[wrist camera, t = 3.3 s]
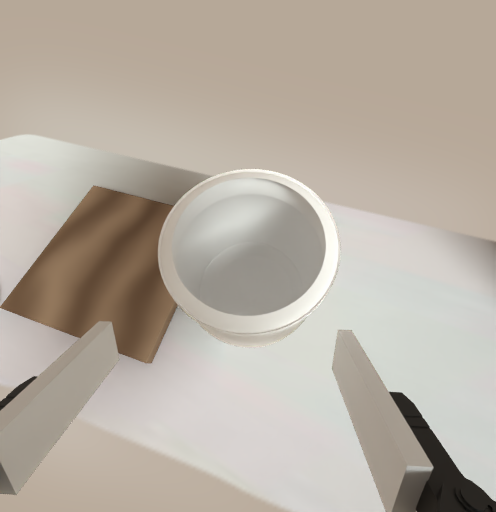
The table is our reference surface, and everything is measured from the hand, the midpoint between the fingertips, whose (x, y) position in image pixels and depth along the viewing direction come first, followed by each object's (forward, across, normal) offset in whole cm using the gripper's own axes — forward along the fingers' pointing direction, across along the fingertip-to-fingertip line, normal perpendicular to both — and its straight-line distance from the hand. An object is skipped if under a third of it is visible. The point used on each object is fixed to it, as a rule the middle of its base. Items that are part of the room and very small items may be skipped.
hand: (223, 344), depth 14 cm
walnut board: (+15, -15, -1) cm, 22 cm away
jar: (+12, +1, -4) cm, 13 cm away
